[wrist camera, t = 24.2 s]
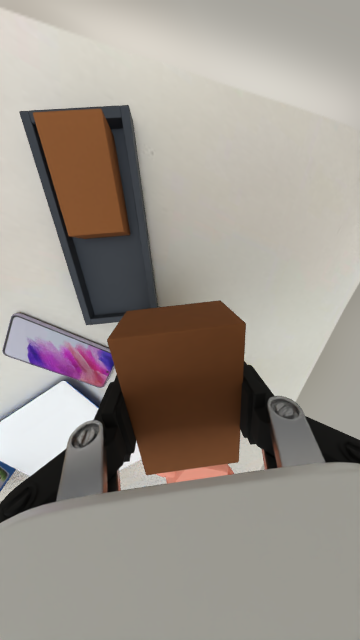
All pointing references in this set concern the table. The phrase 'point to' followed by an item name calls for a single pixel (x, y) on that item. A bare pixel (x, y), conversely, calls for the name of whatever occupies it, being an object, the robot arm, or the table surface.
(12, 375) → the table surface
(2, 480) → the milk carton
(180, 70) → the table surface
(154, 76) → the table surface
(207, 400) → the brown brick
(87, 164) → the brown rectangular block
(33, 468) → the plate
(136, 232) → the frame
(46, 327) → the smartphone
